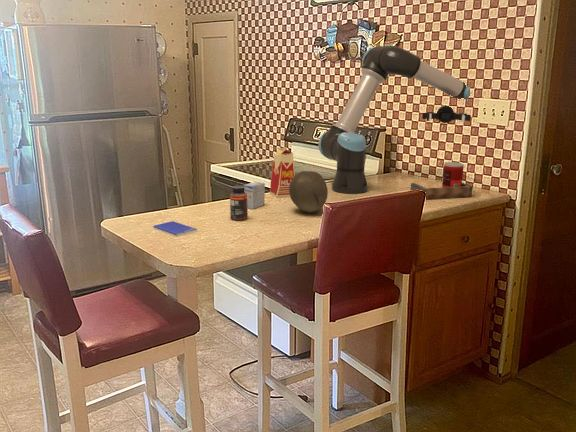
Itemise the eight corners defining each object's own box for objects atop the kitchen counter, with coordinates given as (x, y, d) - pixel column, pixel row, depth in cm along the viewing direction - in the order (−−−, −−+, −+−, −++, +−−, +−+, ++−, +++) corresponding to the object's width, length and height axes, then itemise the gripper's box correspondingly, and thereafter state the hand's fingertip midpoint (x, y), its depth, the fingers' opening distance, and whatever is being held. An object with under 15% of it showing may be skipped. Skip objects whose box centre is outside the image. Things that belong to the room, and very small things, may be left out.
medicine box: (255, 203, 218) (255, 181, 216) (264, 205, 216) (265, 182, 213) (243, 207, 211) (243, 184, 209) (253, 209, 209) (253, 186, 207)
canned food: (463, 189, 238) (466, 163, 235) (457, 193, 232) (460, 166, 229) (445, 187, 242) (447, 161, 239) (439, 190, 236) (441, 164, 233)
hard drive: (197, 228, 182) (173, 220, 190) (176, 233, 176) (153, 225, 184) (197, 233, 182) (173, 225, 190) (176, 238, 176) (153, 230, 185)
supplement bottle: (244, 215, 201) (244, 184, 198) (249, 220, 196) (249, 187, 192) (228, 217, 199) (227, 185, 196) (232, 221, 193) (232, 189, 190)
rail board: (423, 200, 228) (424, 189, 226) (410, 193, 238) (411, 183, 237) (471, 197, 234) (472, 186, 233) (456, 191, 244) (457, 180, 243)
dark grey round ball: (330, 208, 212) (332, 169, 208) (322, 218, 199) (323, 176, 195) (293, 205, 216) (294, 166, 212) (283, 215, 202) (284, 173, 198)
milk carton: (297, 196, 230) (299, 146, 225) (276, 197, 227) (277, 147, 222) (289, 191, 238) (290, 143, 233) (268, 192, 235) (269, 144, 230)
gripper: (473, 123, 259) (476, 129, 239) (416, 121, 265) (416, 126, 245) (474, 106, 257) (478, 110, 237) (418, 104, 263) (417, 108, 243)
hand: (446, 118), depth 241 cm, fingers open, 13 cm apart
